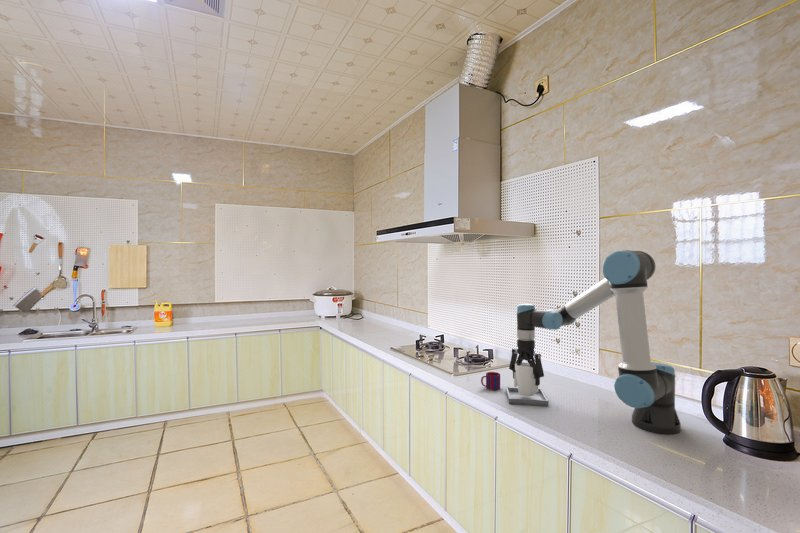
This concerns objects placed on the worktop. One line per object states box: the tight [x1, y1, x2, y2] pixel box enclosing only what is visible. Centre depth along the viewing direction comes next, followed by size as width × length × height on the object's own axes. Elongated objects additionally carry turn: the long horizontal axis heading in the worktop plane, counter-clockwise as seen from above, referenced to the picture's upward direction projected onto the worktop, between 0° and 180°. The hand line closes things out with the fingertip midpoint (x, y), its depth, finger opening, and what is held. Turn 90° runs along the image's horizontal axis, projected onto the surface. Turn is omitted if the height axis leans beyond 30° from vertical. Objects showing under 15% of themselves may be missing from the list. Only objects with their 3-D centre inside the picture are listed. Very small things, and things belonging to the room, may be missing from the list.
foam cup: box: [515, 361, 535, 396], centre depth 173 cm, size 10×9×13 cm
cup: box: [480, 371, 501, 391], centre depth 188 cm, size 7×10×7 cm
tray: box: [505, 386, 549, 407], centre depth 173 cm, size 16×16×2 cm
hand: (526, 389), depth 173 cm, fingers closed on foam cup, 9 cm apart
